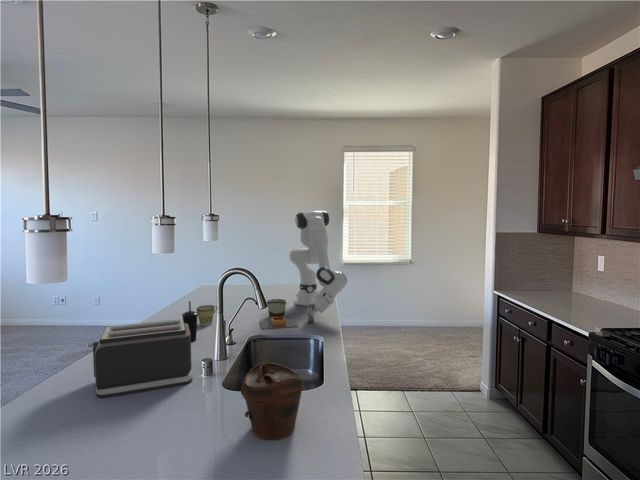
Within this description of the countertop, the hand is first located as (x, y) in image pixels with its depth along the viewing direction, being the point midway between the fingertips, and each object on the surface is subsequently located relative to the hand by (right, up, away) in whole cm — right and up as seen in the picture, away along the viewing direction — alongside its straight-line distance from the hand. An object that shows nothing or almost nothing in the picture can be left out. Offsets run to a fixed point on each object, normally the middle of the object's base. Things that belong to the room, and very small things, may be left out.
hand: (309, 313), depth 224 cm
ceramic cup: (-59, -6, -1) cm, 59 cm away
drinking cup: (-59, -8, -31) cm, 67 cm away
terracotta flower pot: (-8, -13, -109) cm, 110 cm away
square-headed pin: (+1, -5, +1) cm, 5 cm away
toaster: (-61, -11, -77) cm, 99 cm away
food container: (-20, -5, +15) cm, 26 cm away
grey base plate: (-18, -6, -4) cm, 19 cm away
